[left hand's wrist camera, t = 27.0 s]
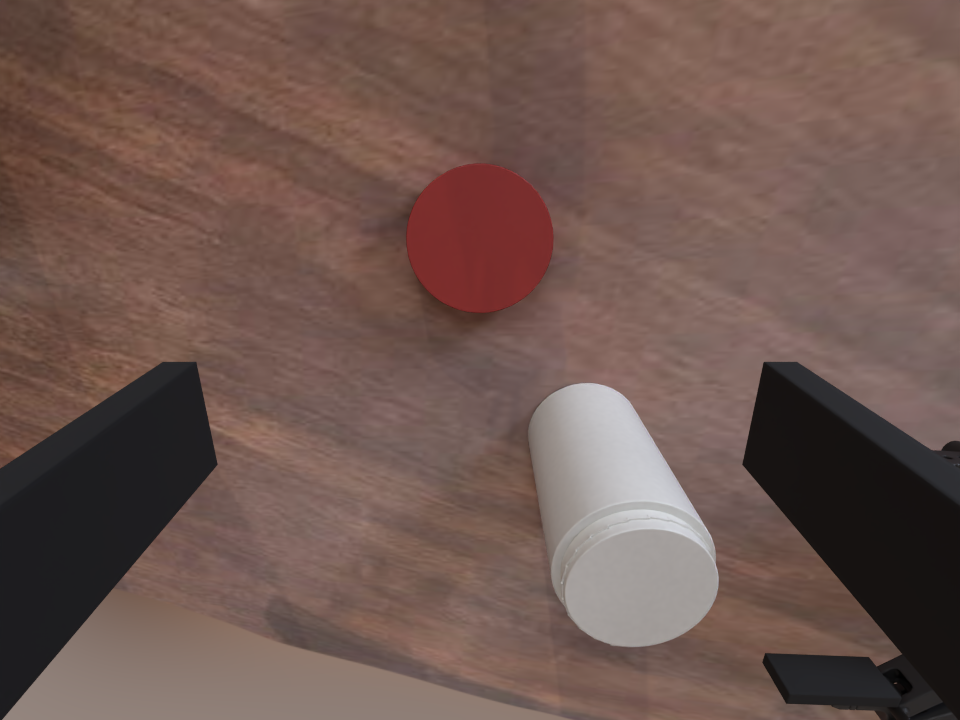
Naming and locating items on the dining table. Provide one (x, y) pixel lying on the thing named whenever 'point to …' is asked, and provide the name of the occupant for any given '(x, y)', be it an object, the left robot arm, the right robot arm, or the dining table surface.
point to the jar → (617, 521)
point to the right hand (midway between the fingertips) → (804, 586)
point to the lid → (479, 238)
